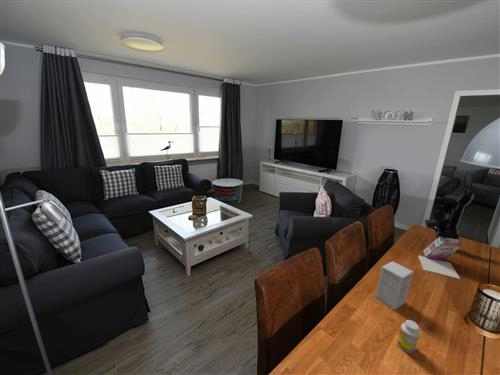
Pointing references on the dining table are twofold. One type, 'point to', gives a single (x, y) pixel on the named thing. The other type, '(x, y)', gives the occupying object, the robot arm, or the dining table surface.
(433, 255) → the candy bar box
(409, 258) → the dining table surface
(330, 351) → the dining table surface
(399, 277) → the supplement box
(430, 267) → the mat
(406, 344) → the supplement bottle
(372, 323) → the dining table surface
